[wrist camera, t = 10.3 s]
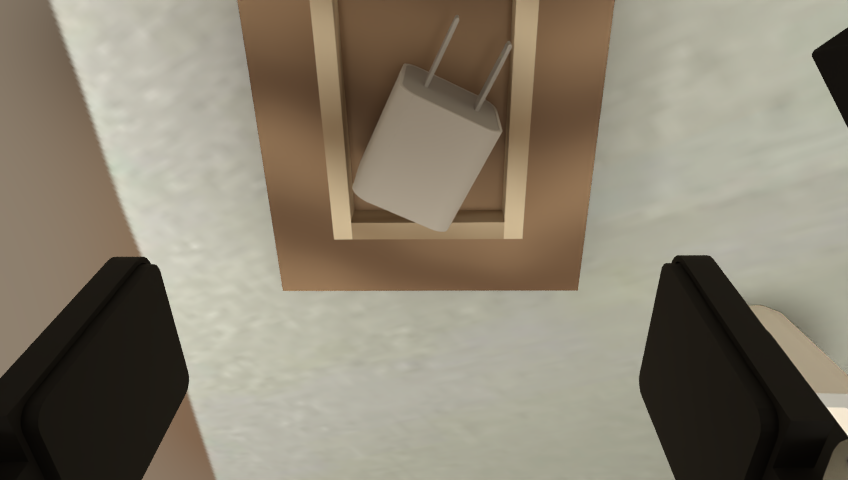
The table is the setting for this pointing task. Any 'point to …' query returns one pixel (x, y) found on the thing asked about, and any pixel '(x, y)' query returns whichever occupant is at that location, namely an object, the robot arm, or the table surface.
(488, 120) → the usb wall charger
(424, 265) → the jig board
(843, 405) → the beige short cylinder
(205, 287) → the table surface
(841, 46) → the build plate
